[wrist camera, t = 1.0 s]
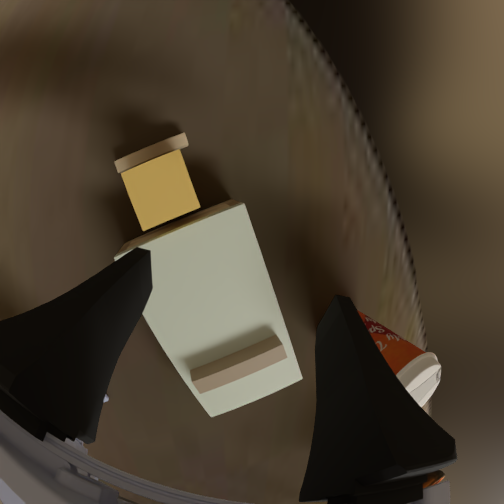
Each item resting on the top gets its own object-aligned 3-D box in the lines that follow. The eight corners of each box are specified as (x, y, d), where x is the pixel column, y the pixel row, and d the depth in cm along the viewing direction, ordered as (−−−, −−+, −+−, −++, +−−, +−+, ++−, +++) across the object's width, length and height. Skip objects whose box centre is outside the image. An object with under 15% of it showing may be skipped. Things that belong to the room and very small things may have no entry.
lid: (209, 410, 24) (214, 428, 22) (116, 254, 18) (108, 264, 16) (298, 373, 26) (309, 388, 24) (241, 202, 20) (250, 205, 18)
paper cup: (355, 284, 30) (447, 342, 17) (369, 328, 32) (444, 387, 19) (299, 323, 29) (375, 408, 16) (321, 364, 31) (384, 440, 18)
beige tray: (204, 387, 28) (209, 409, 24) (97, 172, 20) (84, 171, 16) (285, 353, 29) (297, 371, 26) (206, 127, 21) (211, 119, 18)
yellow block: (151, 218, 22) (143, 231, 16) (134, 175, 21) (120, 173, 15) (194, 200, 23) (200, 207, 17) (178, 157, 21) (179, 148, 16)
